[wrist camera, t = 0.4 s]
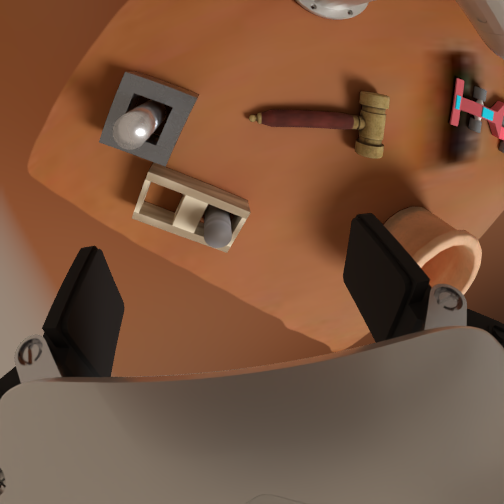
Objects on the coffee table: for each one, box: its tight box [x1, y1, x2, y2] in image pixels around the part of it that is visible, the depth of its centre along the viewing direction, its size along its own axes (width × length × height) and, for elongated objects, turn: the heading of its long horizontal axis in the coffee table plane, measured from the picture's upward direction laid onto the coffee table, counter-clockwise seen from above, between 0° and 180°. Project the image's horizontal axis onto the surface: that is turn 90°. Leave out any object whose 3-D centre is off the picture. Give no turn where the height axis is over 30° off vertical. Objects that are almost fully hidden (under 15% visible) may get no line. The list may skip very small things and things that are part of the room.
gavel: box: [249, 91, 390, 158], centre depth 38 cm, size 21×5×10 cm
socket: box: [99, 71, 199, 167], centre depth 34 cm, size 10×10×5 cm
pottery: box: [384, 207, 482, 295], centre depth 49 cm, size 22×22×14 cm
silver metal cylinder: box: [113, 100, 166, 150], centre depth 31 cm, size 4×4×12 cm
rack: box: [132, 163, 251, 253], centre depth 42 cm, size 8×16×7 cm, turn 61°
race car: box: [450, 78, 504, 153], centre depth 36 cm, size 14×6×25 cm
